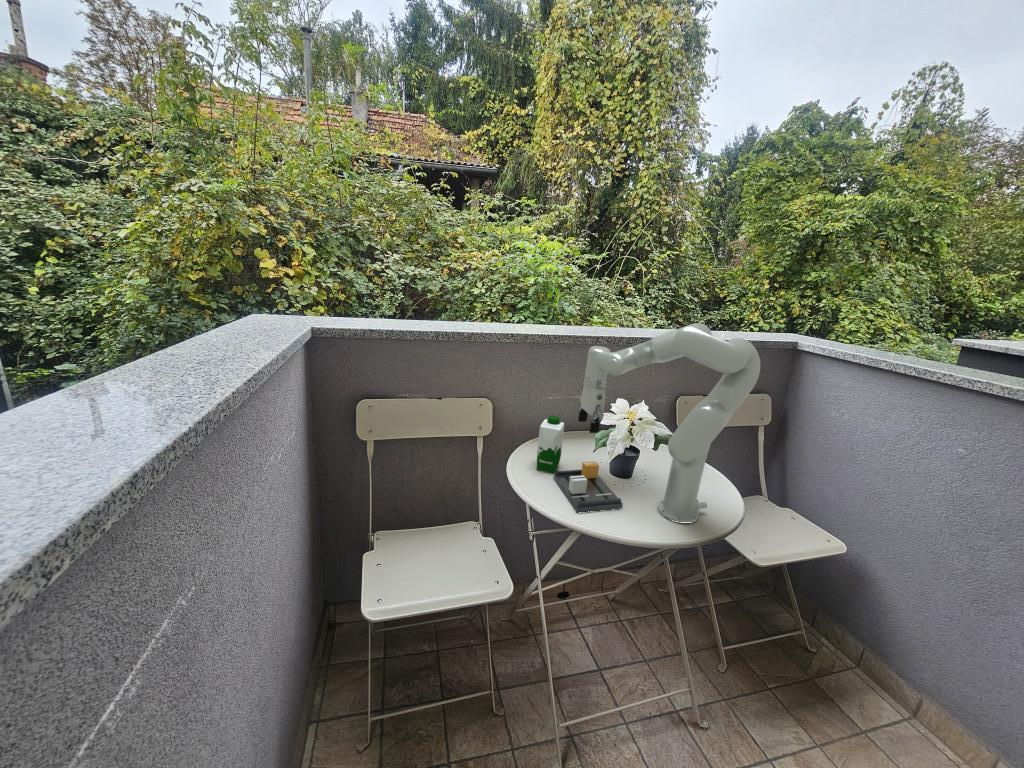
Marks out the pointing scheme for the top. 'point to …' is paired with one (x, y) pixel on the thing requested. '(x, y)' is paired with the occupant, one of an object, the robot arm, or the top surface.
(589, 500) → the panel
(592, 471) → the block
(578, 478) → the block
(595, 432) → the robot arm
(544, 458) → the milk carton
